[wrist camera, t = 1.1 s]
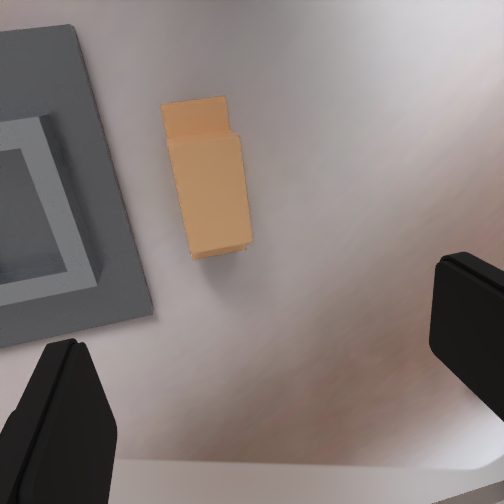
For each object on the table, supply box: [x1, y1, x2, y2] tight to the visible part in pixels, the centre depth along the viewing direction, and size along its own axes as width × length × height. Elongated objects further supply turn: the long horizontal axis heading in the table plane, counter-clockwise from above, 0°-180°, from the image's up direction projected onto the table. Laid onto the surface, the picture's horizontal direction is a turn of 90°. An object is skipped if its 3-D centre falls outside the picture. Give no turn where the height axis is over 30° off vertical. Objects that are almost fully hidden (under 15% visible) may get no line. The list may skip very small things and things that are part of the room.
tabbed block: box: [160, 96, 253, 260], centre depth 25 cm, size 10×4×6 cm, turn 7°
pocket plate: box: [0, 24, 153, 348], centre depth 24 cm, size 20×14×3 cm
